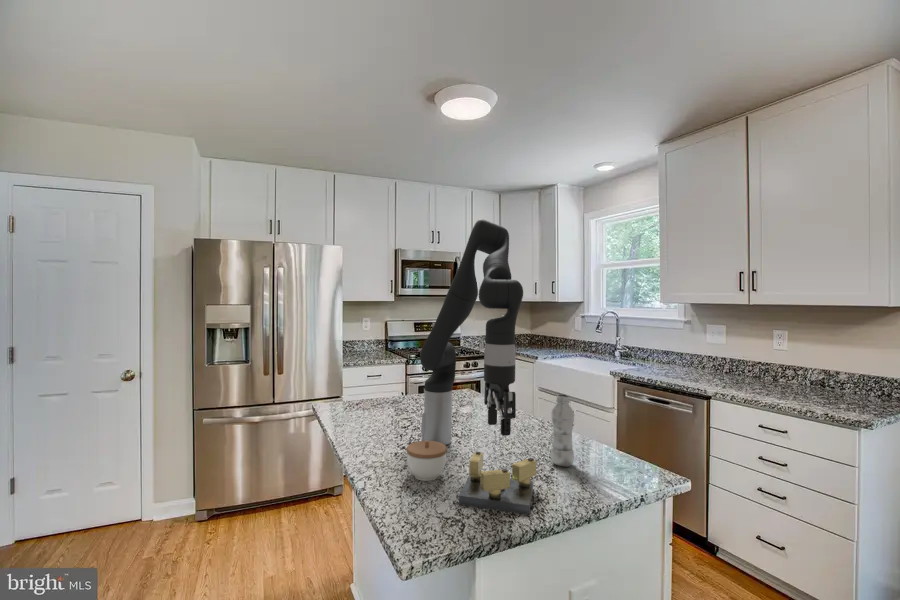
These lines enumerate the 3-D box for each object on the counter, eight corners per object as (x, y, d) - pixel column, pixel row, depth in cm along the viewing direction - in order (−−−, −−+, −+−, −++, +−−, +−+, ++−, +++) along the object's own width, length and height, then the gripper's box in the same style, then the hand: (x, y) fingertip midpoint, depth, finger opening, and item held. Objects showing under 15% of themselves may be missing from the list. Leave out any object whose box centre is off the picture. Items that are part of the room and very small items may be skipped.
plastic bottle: (561, 471, 117) (562, 399, 117) (545, 462, 123) (546, 394, 123) (578, 467, 120) (580, 397, 120) (562, 459, 126) (563, 392, 126)
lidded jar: (399, 480, 109) (399, 444, 109) (416, 465, 119) (417, 432, 119) (437, 487, 105) (438, 450, 105) (452, 471, 115) (452, 437, 115)
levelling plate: (458, 504, 97) (459, 489, 97) (470, 481, 109) (470, 468, 109) (529, 514, 93) (529, 499, 93) (533, 489, 105) (533, 476, 105)
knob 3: (519, 490, 100) (520, 466, 100) (511, 485, 102) (511, 462, 102) (536, 482, 104) (537, 459, 104) (528, 479, 106) (528, 456, 106)
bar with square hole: (483, 499, 95) (484, 474, 95) (479, 494, 97) (480, 469, 97) (510, 496, 96) (510, 471, 96) (505, 491, 99) (505, 467, 99)
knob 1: (479, 484, 103) (479, 460, 103) (467, 482, 103) (468, 459, 103) (483, 473, 109) (484, 451, 109) (473, 472, 109) (473, 450, 109)
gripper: (526, 366, 95) (525, 438, 95) (503, 358, 109) (501, 420, 109) (495, 367, 93) (494, 440, 93) (475, 358, 107) (474, 422, 107)
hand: (498, 429), depth 101 cm, fingers open, 8 cm apart
